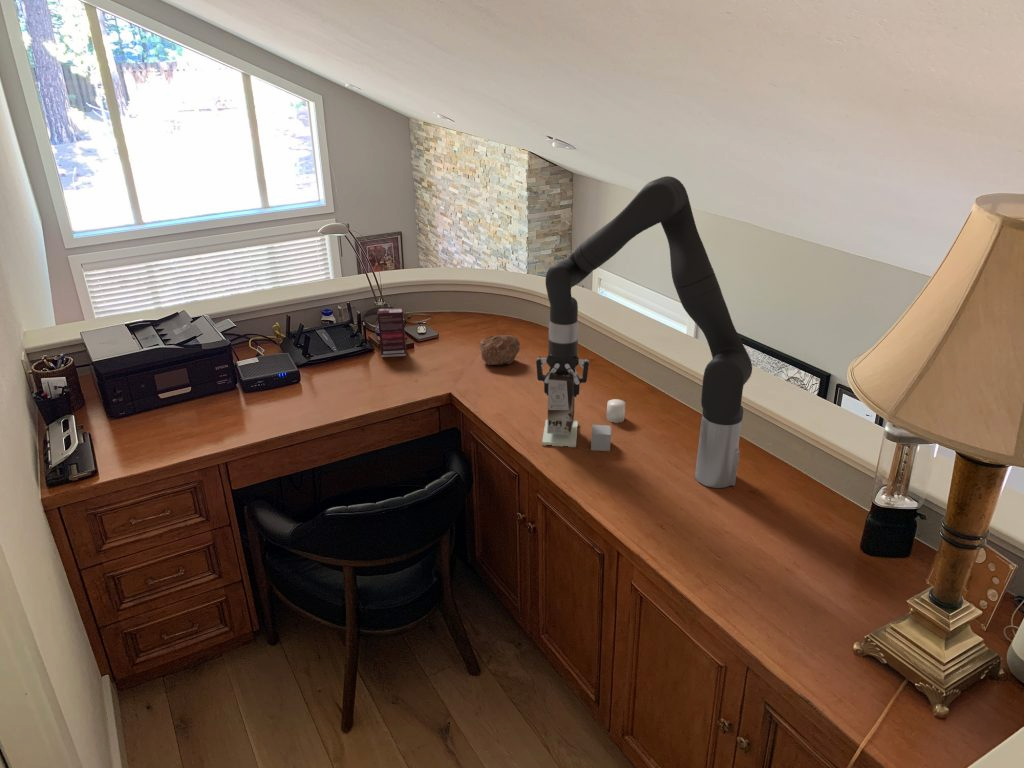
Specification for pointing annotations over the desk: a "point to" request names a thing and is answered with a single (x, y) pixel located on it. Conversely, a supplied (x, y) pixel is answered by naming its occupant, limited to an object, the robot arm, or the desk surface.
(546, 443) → the sage board
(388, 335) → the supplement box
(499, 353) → the decorative rock
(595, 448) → the grey block
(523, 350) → the desk surface
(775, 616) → the desk surface
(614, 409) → the white rounded cylinder
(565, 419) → the coffee box
